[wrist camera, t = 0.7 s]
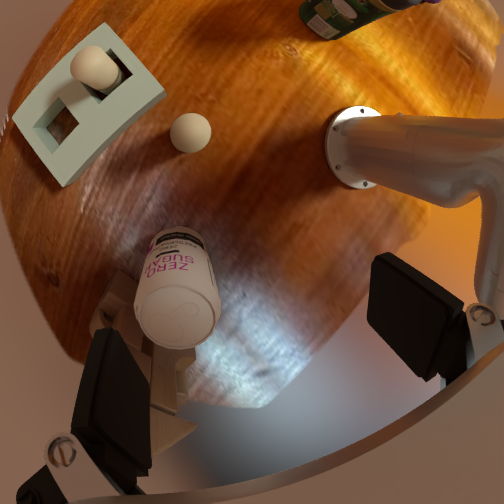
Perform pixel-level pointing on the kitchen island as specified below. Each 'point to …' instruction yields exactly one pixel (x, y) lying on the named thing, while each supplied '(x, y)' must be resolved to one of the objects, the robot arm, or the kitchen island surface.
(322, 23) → the coffee jar
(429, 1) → the purple maraca
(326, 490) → the robot arm
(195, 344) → the supplement can
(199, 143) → the peg
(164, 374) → the wooden toy
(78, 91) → the seat board
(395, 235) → the kitchen island surface
